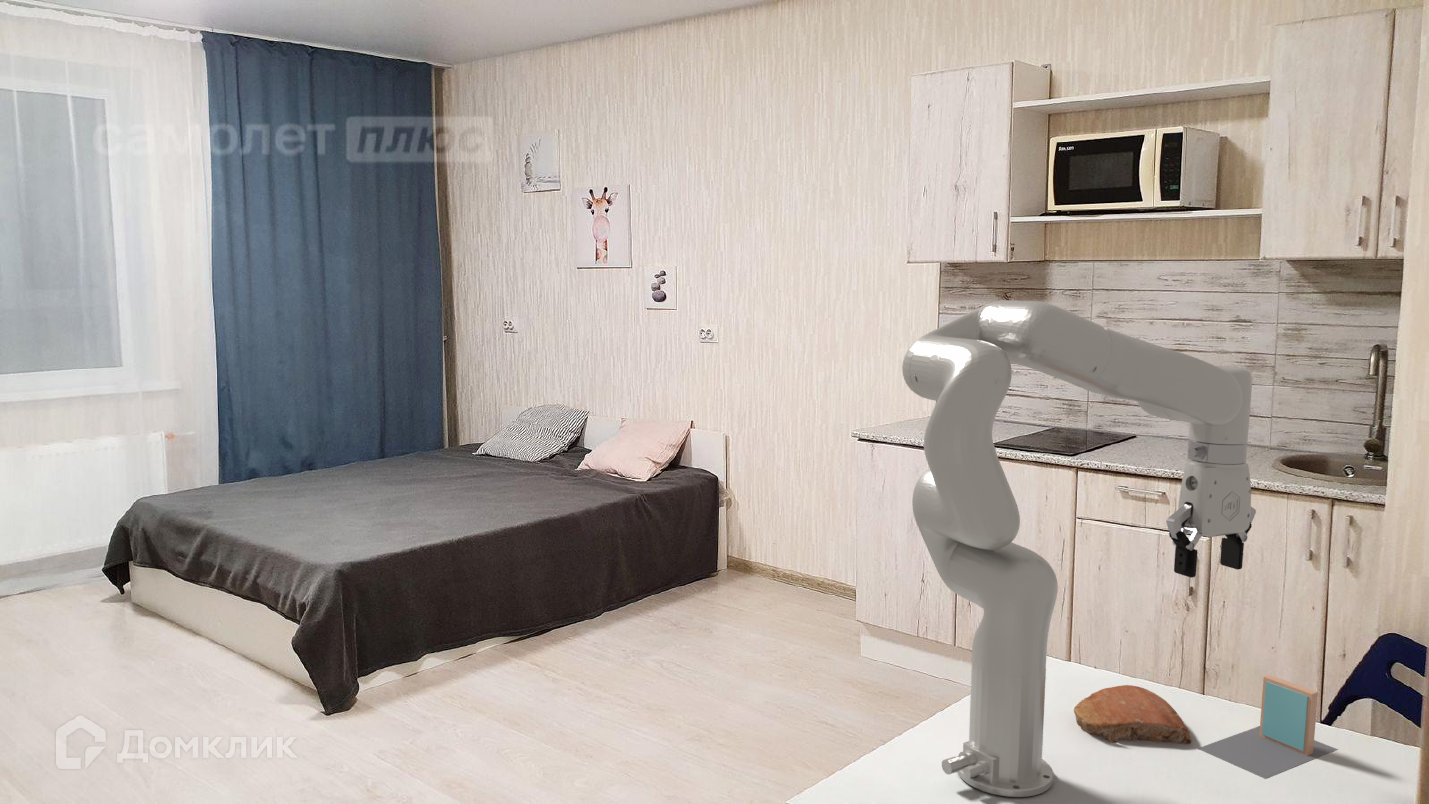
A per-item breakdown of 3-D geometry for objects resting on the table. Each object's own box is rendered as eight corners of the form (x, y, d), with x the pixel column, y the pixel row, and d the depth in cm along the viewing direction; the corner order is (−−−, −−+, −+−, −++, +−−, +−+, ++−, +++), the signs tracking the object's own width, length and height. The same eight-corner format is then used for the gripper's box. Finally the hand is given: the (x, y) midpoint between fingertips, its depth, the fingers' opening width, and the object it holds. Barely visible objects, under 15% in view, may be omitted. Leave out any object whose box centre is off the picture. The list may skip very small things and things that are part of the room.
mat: (1265, 781, 136) (1265, 778, 136) (1197, 751, 145) (1197, 748, 145) (1337, 752, 145) (1337, 749, 145) (1269, 725, 153) (1269, 722, 153)
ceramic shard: (1060, 672, 161) (1154, 686, 161) (1054, 712, 161) (1148, 727, 161) (1094, 698, 146) (1198, 714, 146) (1088, 743, 146) (1192, 759, 146)
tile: (1306, 756, 143) (1311, 694, 141) (1258, 736, 149) (1262, 677, 148) (1313, 753, 143) (1317, 692, 142) (1265, 734, 149) (1269, 675, 148)
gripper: (1197, 462, 138) (1188, 585, 140) (1281, 453, 146) (1271, 570, 148) (1151, 453, 145) (1144, 571, 147) (1233, 445, 152) (1225, 557, 154)
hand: (1208, 570), depth 147 cm, fingers open, 9 cm apart
